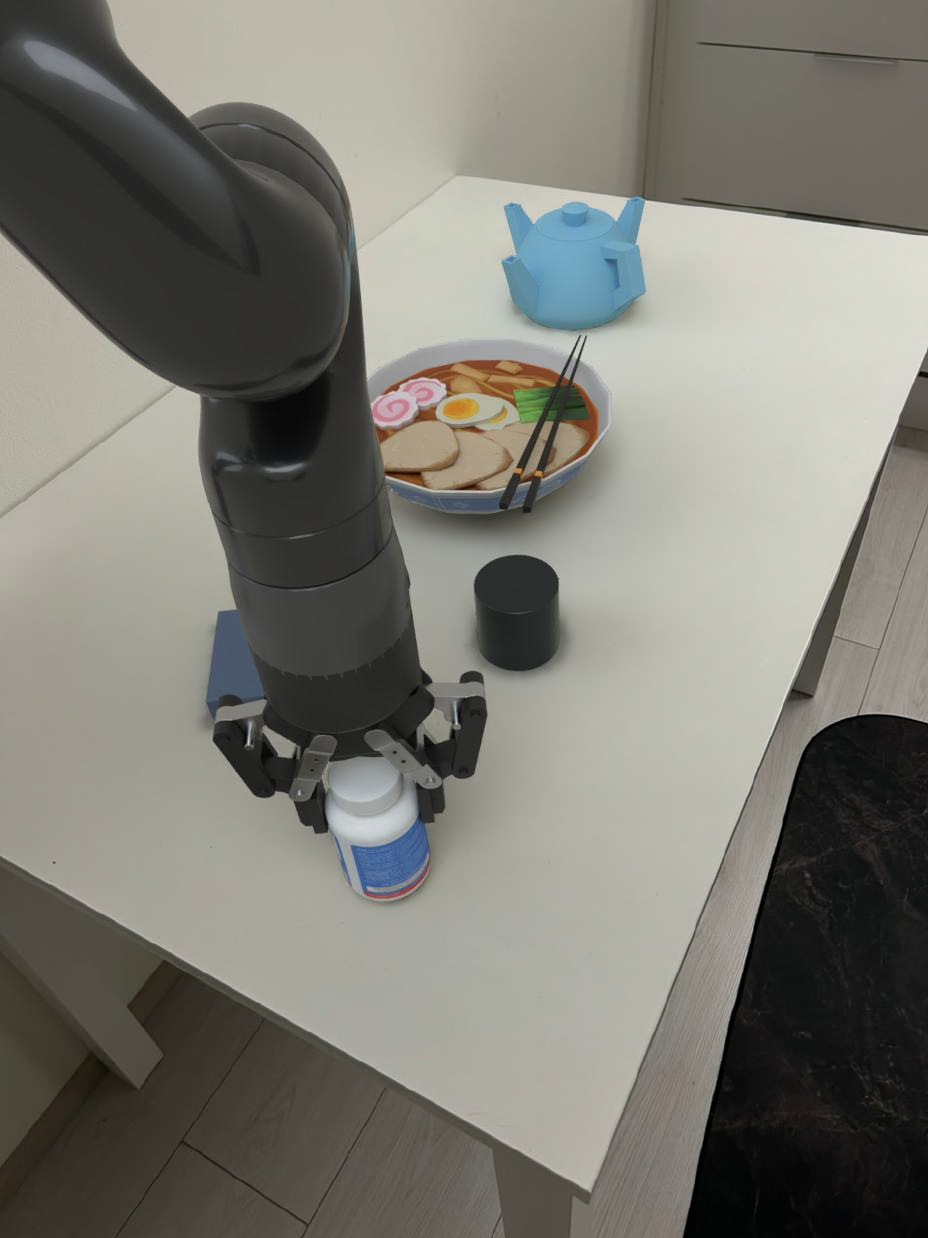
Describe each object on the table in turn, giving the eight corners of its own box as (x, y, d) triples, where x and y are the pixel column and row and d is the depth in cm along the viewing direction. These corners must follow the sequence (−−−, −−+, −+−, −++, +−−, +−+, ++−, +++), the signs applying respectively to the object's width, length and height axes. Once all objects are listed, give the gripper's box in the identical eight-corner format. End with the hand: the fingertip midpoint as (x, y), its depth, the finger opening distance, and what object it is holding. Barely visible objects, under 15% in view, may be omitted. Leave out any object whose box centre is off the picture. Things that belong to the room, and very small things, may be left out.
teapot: (497, 340, 103) (492, 241, 95) (506, 272, 113) (503, 178, 105) (644, 338, 101) (651, 237, 93) (639, 270, 111) (646, 173, 103)
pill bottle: (449, 851, 60) (435, 757, 53) (397, 920, 57) (375, 831, 50) (378, 811, 62) (356, 716, 55) (325, 876, 59) (294, 784, 52)
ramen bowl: (409, 386, 98) (399, 311, 92) (635, 413, 92) (641, 335, 86) (307, 549, 81) (288, 471, 76) (574, 595, 75) (576, 514, 70)
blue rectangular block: (282, 712, 69) (276, 694, 68) (212, 719, 69) (205, 702, 68) (288, 622, 76) (282, 604, 74) (224, 628, 76) (217, 611, 74)
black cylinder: (468, 662, 71) (462, 605, 67) (491, 606, 75) (487, 548, 71) (548, 677, 70) (547, 620, 66) (567, 619, 74) (567, 561, 69)
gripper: (153, 687, 41) (245, 887, 53) (494, 654, 41) (507, 861, 53) (177, 566, 46) (255, 773, 58) (479, 536, 46) (494, 749, 58)
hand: (375, 814), depth 55 cm, fingers closed on pill bottle, 5 cm apart
